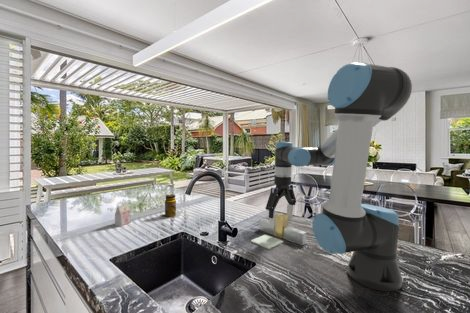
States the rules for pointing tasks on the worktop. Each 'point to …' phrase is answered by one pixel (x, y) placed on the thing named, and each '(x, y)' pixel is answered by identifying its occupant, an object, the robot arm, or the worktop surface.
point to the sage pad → (267, 241)
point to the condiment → (170, 207)
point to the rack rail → (289, 232)
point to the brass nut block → (280, 224)
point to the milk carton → (122, 215)
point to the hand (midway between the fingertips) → (281, 221)
